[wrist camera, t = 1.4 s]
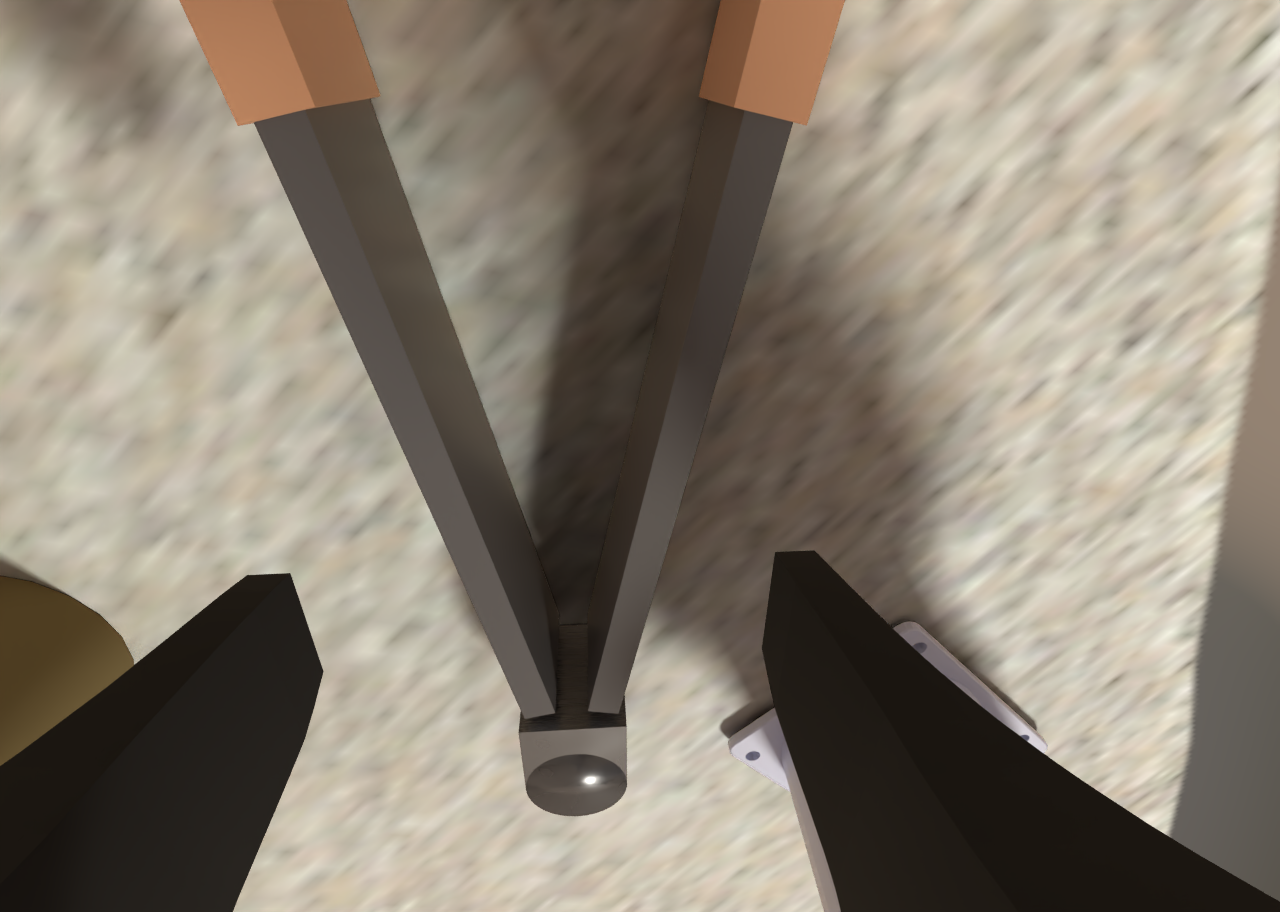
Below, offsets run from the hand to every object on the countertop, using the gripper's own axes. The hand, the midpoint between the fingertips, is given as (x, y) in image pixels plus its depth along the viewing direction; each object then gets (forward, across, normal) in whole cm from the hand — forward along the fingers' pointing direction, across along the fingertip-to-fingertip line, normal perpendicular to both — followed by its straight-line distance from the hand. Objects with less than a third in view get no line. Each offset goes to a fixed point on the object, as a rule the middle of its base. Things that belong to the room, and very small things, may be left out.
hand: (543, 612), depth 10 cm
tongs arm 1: (+7, -3, -1) cm, 8 cm away
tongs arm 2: (+7, +2, -1) cm, 8 cm away
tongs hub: (+8, 0, +10) cm, 12 cm away
